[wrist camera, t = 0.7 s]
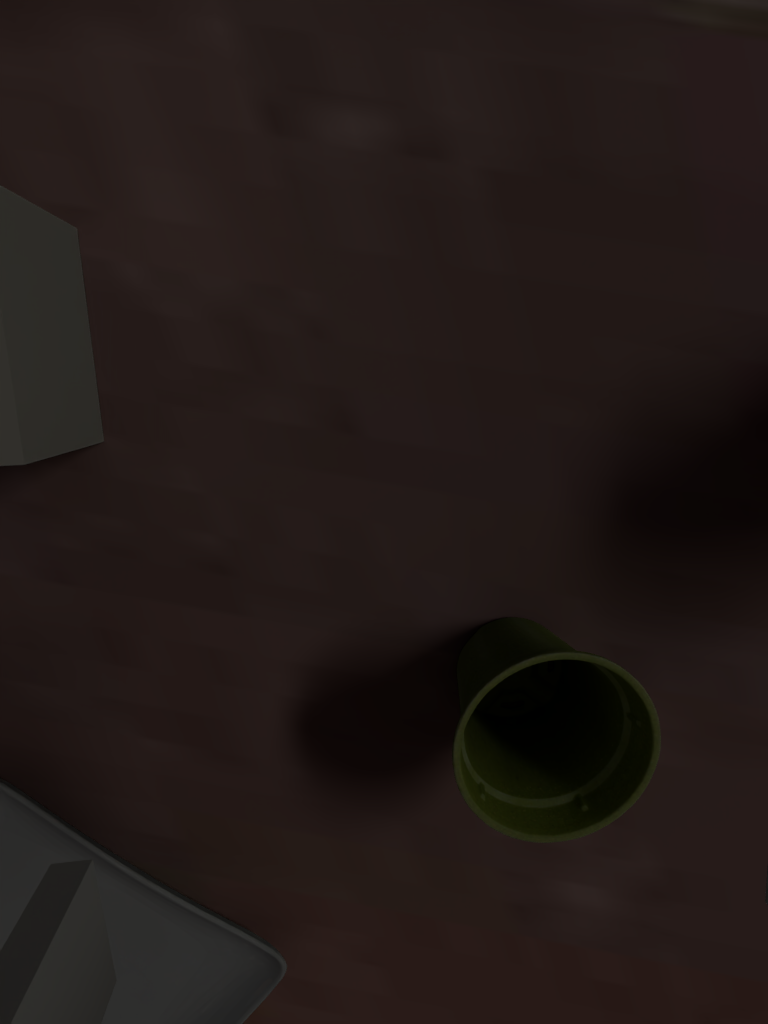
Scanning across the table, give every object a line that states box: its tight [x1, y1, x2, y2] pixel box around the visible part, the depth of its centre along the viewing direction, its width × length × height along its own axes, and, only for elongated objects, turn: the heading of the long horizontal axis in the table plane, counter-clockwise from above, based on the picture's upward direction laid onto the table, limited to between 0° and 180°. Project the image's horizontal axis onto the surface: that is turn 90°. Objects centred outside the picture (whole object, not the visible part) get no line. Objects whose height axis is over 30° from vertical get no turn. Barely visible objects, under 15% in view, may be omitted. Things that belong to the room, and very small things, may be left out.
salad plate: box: [0, 778, 287, 1024], centre depth 39 cm, size 21×21×3 cm
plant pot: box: [452, 618, 661, 843], centre depth 34 cm, size 9×9×9 cm
